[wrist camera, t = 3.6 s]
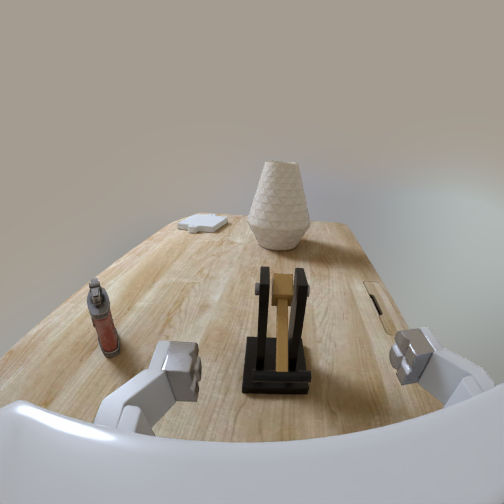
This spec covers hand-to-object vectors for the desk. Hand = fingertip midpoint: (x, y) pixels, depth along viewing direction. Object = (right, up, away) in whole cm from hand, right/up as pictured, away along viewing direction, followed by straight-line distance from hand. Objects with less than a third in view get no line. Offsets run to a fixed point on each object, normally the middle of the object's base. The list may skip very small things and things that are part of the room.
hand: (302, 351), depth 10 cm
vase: (+5, +6, +71) cm, 71 cm away
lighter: (-24, -10, +28) cm, 38 cm away
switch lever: (+1, -5, +19) cm, 19 cm away
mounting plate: (-19, +13, +86) cm, 89 cm away
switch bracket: (+1, -11, +25) cm, 28 cm away
